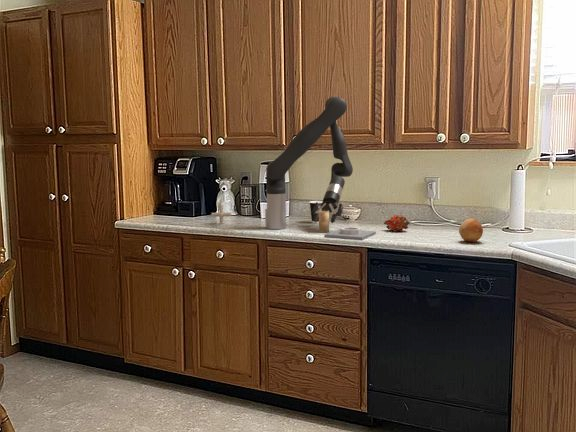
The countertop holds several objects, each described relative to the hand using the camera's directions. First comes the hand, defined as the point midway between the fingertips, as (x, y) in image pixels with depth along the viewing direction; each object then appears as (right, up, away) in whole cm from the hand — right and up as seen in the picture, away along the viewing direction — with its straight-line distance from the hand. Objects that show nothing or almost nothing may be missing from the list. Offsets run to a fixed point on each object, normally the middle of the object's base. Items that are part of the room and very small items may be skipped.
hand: (323, 221), depth 282 cm
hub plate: (+12, -6, -9) cm, 16 cm away
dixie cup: (-2, -1, +33) cm, 33 cm away
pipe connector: (-51, -2, +30) cm, 59 cm away
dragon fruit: (+35, -5, +3) cm, 35 cm away
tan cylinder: (0, -5, +1) cm, 5 cm away
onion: (+61, -9, -27) cm, 67 cm away
